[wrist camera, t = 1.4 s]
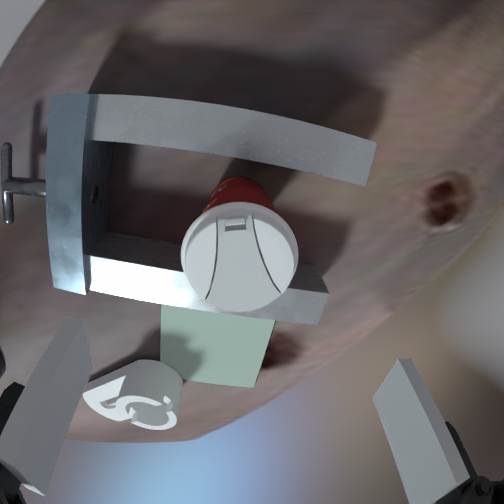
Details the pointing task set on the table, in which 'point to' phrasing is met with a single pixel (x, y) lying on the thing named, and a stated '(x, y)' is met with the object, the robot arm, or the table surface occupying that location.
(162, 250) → the vise
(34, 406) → the robot arm
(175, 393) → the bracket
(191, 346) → the mat
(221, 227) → the paper cup
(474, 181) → the table surface
